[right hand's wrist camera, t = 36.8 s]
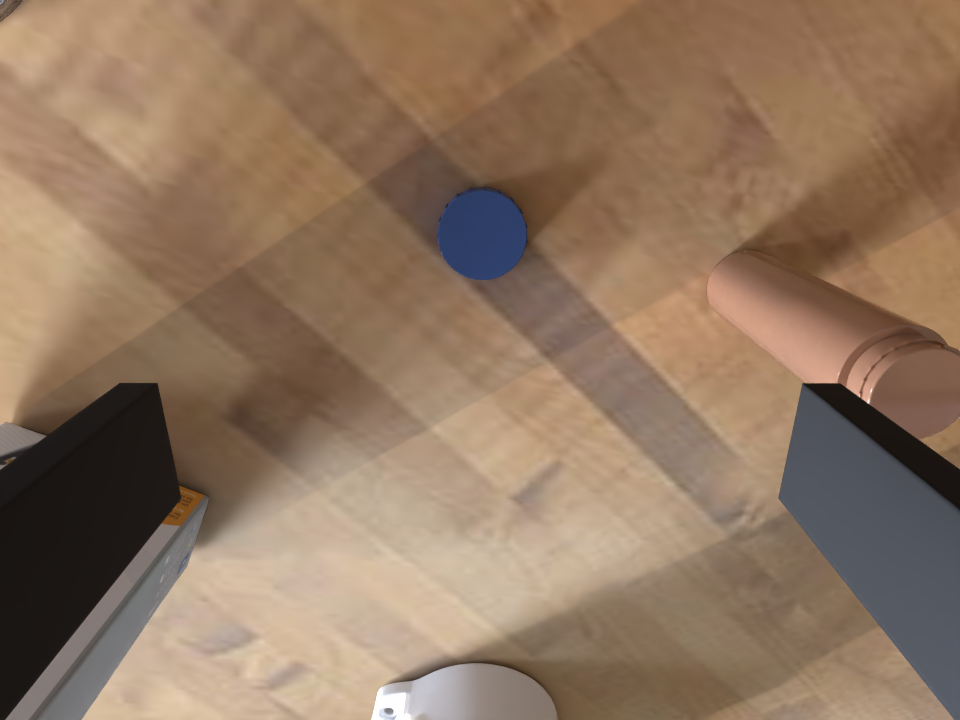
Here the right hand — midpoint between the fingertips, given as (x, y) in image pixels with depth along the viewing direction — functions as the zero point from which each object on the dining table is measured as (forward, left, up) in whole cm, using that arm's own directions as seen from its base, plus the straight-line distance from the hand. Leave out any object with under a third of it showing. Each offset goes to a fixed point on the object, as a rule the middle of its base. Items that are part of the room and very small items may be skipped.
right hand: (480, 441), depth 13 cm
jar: (+14, -12, -28) cm, 33 cm away
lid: (0, 0, -27) cm, 27 cm away
